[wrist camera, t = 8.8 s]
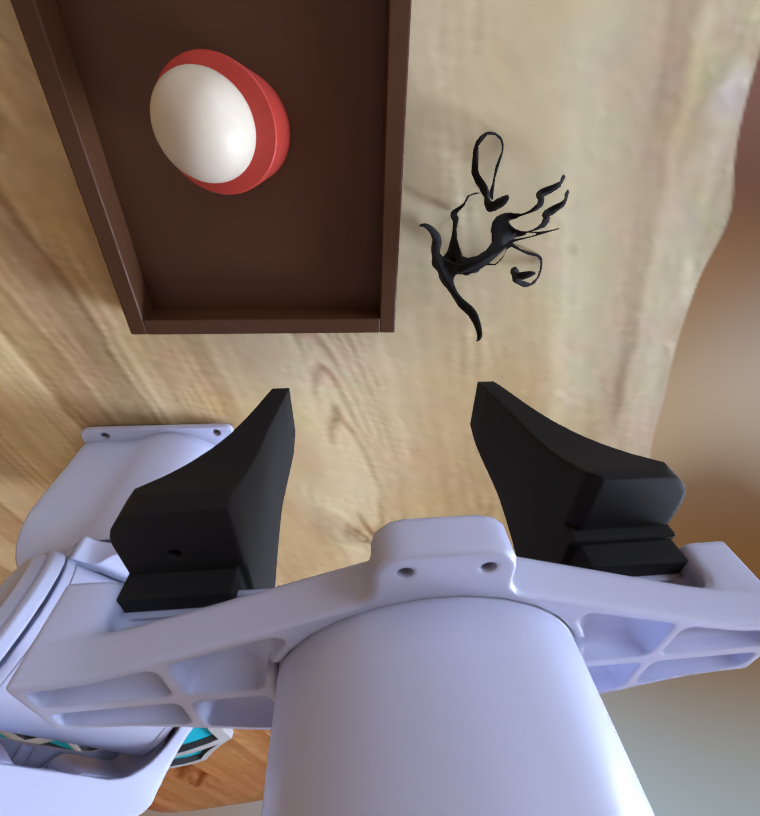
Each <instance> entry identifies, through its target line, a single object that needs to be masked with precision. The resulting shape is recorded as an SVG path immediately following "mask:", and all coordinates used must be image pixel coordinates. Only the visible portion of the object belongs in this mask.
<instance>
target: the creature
mask: <svg viewBox="0 0 760 816" xmlns="http://www.w3.org/2000/svg"><path fill="white" fill-rule="evenodd" d="M487 135H496V136H497V137H498V138H499V139H500V140H501V144H502V152H501V154H500V157H499V159H498V162H497V164H496V167H495V173H494V178H493V183H492V186H491V189H490V192H489V189H488V187H487V185H486V183H485V182H484V180H483V179H482V178H481V176H480V174H479V170H478V146H479V145H480V143H481V142H482V141H483V140H484V138H485V137H486V136H487ZM503 146H504V144H503V140H502V138H501V136H499V135H498V134H496V133H494V132H486V133H484V134H482V135H481V136H480V137H479V138H478V140H477V141H476V143H475V146H474V149H473V159H472V172H471V173H472V176H473V178H474V180H475V183H476V184H477V186H478V187H479V189H480V191H481V193H482V195H483V196H484V205H485V207H486V210H487V211H488V212H492V211H496V210H497V209H499V208H501V207H503V206H504V205H505V204H506V203H507V201H508V199H509V196H508V195H505V196H502V197H500V198H498V199H496V200H495V201H493V202H492V201H490V198H491V199H492V200H493V192H494V183H495V177H496V173H497V170H498V167H499V163H500V160H501V157H502V153H503ZM564 179H565V175H563V176H562V177H561V180H560V182H557V183H555V184H553V185H550V186H547V187H545V188H543V189H541V190H539V191H538V192H537V193H536V197H537V199H538V203H537V204H536V205H535V206H534V207H533V208H532V209H531V210H530V211H528V212H525V213H523V214H518V213H504V214H501V215H499V216H497V217H496V218H495V219H494V221H493V222H492V227H491V233H492V243H491V244H490V246H489V247H488V248H487V250H486V251H484V252H483V253H481V254H480V255H478V256H475V257H470V258H466V257H463V256H462V253H461V250H460V247H459V244H458V240H457V231H456V228H457V224H458V219H459V218H458V216H457V213H458V211H459V210H460V209H461V208H462V207H463V206H464V205H465V203H466V201H467V199H468V198H469V196H470V195H468V196H467V198H466V200H465V202H464V203H463V204H462V205H461V206H459V207H457V208H456V209H454V210H453V211H452V212H451V218H452V220H453V231H452V236H451V240H450V244H449V248H448V251H447V253H446V254H445V255H444V256H442V255H441V254H440V248H441V243H442V240H441V236H440V234H439V233H438V232H437V230H436V229H435V228H434V227H432V226H431V225H429V224H426V223H425V224H421V225H419V226H422V227H424V228H426V229H427V230H428V232H429V233H430V235H431V237H432V246H431V252H432V265H433V267H434V268H435V269H436V270H437V271H438V274H439V278H440V280H441V282H442V284H443V285H444V286H445V287H446V288H447V289H448V291H449V292H450V293H451V295H452V297H453V298H454V300H455V302H456V303H457V305H458V306H459V307H460V308H461V309H462V310H463V311H464V312H465V313H466V314H467V315H468V316H469V317H470V319H471V321H472V322H473V324H474V326H475V329H476V332H477V340H476V341H479V340H481V338H482V328H481V324H480V320H479V317H478V314H477V312H476V311H475V309H474V308H473V307H472V306H471V305H470V304H469V303H467V302H466V301H465V300H464V299H463V298H462V297H461V296H460V295H459V293H458V292H457V290H456V288H455V285H454V281H453V280H454V277H455V275H457V274H463V275H469V274H471V273H477V272H478V271H479V270H480V269H481V268H483V267H484V266H486V265H496V264H497V263H498V262H499V261H500V260H501V259H502V258H503V257H502V258H501V259H500V260H499V261H498V262H497V263H496V264H489V263H490V262H491V261H492V260H493V259H494V258H496V257H497V256H498V255H499V254H500V253H501V252H502V251H503V250H504V249H505V248H506V247H507V248H506V250H507V249H508V248H510V247H513V248H515V249H517V250H519V251H521V252H523V253H525V254H528V255H532V256H536V257H538V258H539V260H540V271H539V274H538V276H537V278H536V279H535V280H534V281H533V282H532V283H531V284H530V283H528V282H525V281H522V280H523V279H526V278H529V277H531V276H533V275H534V274H536V273H535V272H532V271H526V272H519V270H518V269H517V267H513V268H512V269H511V275H512V279H513V282H514V283H516V284H518V285H520V286H522V287H528V286H531V285H533V284H534V283H535V282H536V281H537V279H538V278H539V276H540V273H541V269H542V258H541V256H540V255H538V254H535V253H531V252H528V251H525V250H522V249H520V248H518V247H517V246H515V245H514V244H513V242H515V241H518V240H522V239H526V238H530V237H533V236H537V235H540V234H544V233H547V232H550V231H554V230H557V229H554V230H549V231H542V232H532V231H535V230H538V229H541V228H544V227H545V226H546V225H547V224H548V223H549V220H550V216H551V215H553V214H554V213H555V212H557V211H558V210H559V209H561V208H562V207H563V206H564V205H565V204H566V201H567V198H568V194H569V190H567V191H566V193H565V198H564V200H563V201H562V202H560V203H558V204H556V205H554V206H552V207H550V208H548V209H546V210H545V211H544V212H543V214H542V216H543V220H542V223H541V224H540V225H539V226H538V227H537V228H535V229H533V230H531V231H527V232H526V231H519V230H516V229H515V228H513V227H512V226H511V225H510V223H509V221H510V220H512V219H516V218H518V217H520V216H522V215H525V214H528V213H531V212H534V211H537V210H538V209H539V208H540V207H542V206H543V204H544V196H546V195H548V194H550V193H552V192H553V191H555V190H557V189H558V188H559V187H561V184H562V183H563V181H564ZM474 194H478V193H473V194H471V195H474ZM558 229H559V228H558ZM526 233H536V235H533V236H529V237H525V238H519V239H514V238H516V237H519V236H523V235H525V234H526ZM506 250H505V252H506ZM504 254H505V253H504ZM503 256H504V255H503ZM520 279H521V280H520Z"/></svg>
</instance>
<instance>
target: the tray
mask: <svg viewBox="0 0 760 816" xmlns="http://www.w3.org/2000/svg"><path fill="white" fill-rule="evenodd" d="M11 3H12V6H13V8H14V11H15V14H16V17H17V19H18V22H19V25H20V28H21V30H22V33H23V36H24V39H25V42H26V44H27V47H28V50H29V53H30V55H31V58H32V61H33V64H34V66H35V69H36V72H37V75H38V77H39V80H40V83H41V86H42V88H43V91H44V94H45V97H46V99H47V102H48V105H49V108H50V110H51V113H52V116H53V119H54V121H55V124H56V127H57V130H58V132H59V135H60V138H61V141H62V144H63V146H64V149H65V152H66V155H67V157H68V160H69V163H70V166H71V168H72V171H73V174H74V177H75V179H76V182H77V185H78V188H79V190H80V193H81V196H82V199H83V201H84V204H85V207H86V210H87V212H88V215H89V218H90V221H91V223H92V226H93V229H94V232H95V234H96V237H97V240H98V243H99V246H100V248H101V251H102V254H103V257H104V259H105V262H106V265H107V268H108V270H109V273H110V276H111V279H112V281H113V284H114V287H115V290H116V292H117V295H118V298H119V301H120V303H121V306H122V309H123V312H124V314H125V317H126V320H127V323H128V325H129V328H130V331H131V333H132V334H250V333H363V332H394V331H395V313H396V293H397V273H398V254H399V234H400V215H401V195H402V175H403V156H404V136H405V117H406V97H407V77H408V58H409V38H410V19H411V0H11ZM194 49H207V50H213V51H217V52H220V53H223V54H225V55H227V56H229V57H231V58H232V59H234V60H236V61H237V62H239V63H240V64H242V65H243V66H245V67H246V68H248V69H250V70H251V71H253V72H254V73H256V74H257V75H259V76H260V77H262V78H263V79H264V80H265V81H266V82H267V83H268V84H269V85H270V86H271V87H272V88H273V89H274V90H275V92H276V93H277V95H278V96H279V98H280V99H281V101H282V103H283V105H284V107H285V110H286V113H287V116H288V120H289V126H290V145H289V150H288V154H287V157H286V159H285V161H284V163H283V164H282V166H281V167H280V169H279V170H278V171H277V172H276V173H275V174H273V175H272V176H271V177H269V178H268V179H266V180H265V181H263V182H262V183H260V184H259V185H257V186H255V187H254V188H252V189H250V190H248V191H246V192H243V193H239V194H230V195H228V194H219V193H215V192H212V191H209V190H206V189H204V188H202V187H200V186H198V185H197V184H195V183H194V182H192V181H191V180H190V179H188V178H187V177H186V176H185V175H184V174H183V173H182V172H181V171H180V170H179V169H178V168H177V167H176V166H175V165H174V164H173V163H172V162H171V161H170V160H169V158H168V157H167V156H166V155H165V153H164V152H163V150H162V149H161V147H160V145H159V143H158V142H157V139H156V137H155V134H154V131H153V128H152V124H151V119H150V102H151V96H152V93H153V89H154V87H155V85H156V83H157V80H158V78H159V75H160V73H161V71H162V70H163V69H164V67H165V66H166V65H167V64H168V63H169V62H170V61H171V60H172V59H173V58H174V57H176V56H177V55H179V54H181V53H183V52H186V51H189V50H194Z"/></svg>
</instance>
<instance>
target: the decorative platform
mask: <svg viewBox="0 0 760 816" xmlns="http://www.w3.org/2000/svg"><path fill="white" fill-rule="evenodd" d="M232 735H233V729H227V728H193V729H192V730H191V732H190V733H189V734H188V736H187V737H186V739H185V740H184V742H183V743H182V745H181V747H180V748H179V750H178V752H177V754H176V755H175V757H174V759H173V761H172V763H171V765H170V767H169V768H175V767H181V766H185V765H189V764H193V763H197V762H200V761H204V760H206V759H207V758H208V757H209V756H210V754H211V753H212V752H213V751H214V750H215V749H217V748H218V747H219V746H221V745H222V744H223V743H225V742H226V741H228V740H229V739H231V738H232ZM0 737H1V738H6V739H12V740H18V741H23V742H29V743H35V744H40V745H46V746H52V747H57V748H63V749H69V750H74V751H94V750H97V749H98V748H92V747H87V746H81V745H76V744H70V743H65V742H60V741H54V740H49V739H43V738H38V737H32V736H27V735H22V734H16V733H11V732H5V731H0Z"/></svg>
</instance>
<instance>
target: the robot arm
mask: <svg viewBox="0 0 760 816" xmlns="http://www.w3.org/2000/svg"><path fill="white" fill-rule="evenodd" d="M470 425H471V429H472V433H473V437H474V440H475V443H476V446H477V449H478V451H479V453H480V456H481V458H482V460H483V462H484V465H485V467H486V469H487V471H488V473H489V476H490V478H491V480H492V482H493V484H494V487H495V489H496V491H497V494H498V496H499V499H500V502H501V505H502V508H503V511H504V514H505V517H506V521H507V524H508V527H509V531H510V534H511V538H512V541H513V545H514V549H515V553H516V556H515V554H514V551H513V549H512V546H511V544H510V541H509V539H508V537H507V534H506V532H505V529H504V527H503V524H501V523H500V522H499V521H497V520H496V519H495V518H493V517H488V516H480V515H466V516H449V517H432V518H414V519H402V520H398V521H394V522H389V523H388V524H386V525H385V526H383V527H382V528H381V529H379V530H378V531H376V532H375V534H374V537H373V539H372V542H371V556H370V560H369V561H366V562H362V563H359V564H355V565H352V566H348V567H345V568H341V569H338V570H334V571H331V572H327V573H324V574H320V575H316V576H313V577H309V578H306V579H302V580H299V581H295V582H292V583H288V584H285V585H281V586H278V587H275V579H276V565H277V553H278V542H279V531H280V521H281V511H282V505H283V500H284V495H285V491H286V486H287V482H288V477H289V473H290V468H291V463H292V459H293V454H294V442H295V426H294V419H293V412H292V405H291V398H290V391H289V388H280V389H272V390H271V391H270V392H269V393H268V394H267V395H266V397H265V398H264V399H263V400H262V401H261V402H260V404H259V405H258V406H257V407H256V408H255V409H254V410H253V412H252V413H251V414H250V415H249V416H248V417H247V418H246V419H245V420H244V421H243V422H242V423H241V424H240V425H239V426H238V427H237V428H236V429H235V430H233V427H232V426H231V425H229V424H225V423H219V424H181V425H144V426H106V427H86V428H84V429H83V430H82V432H81V437H82V439H83V441H84V443H85V444H84V445H83V447H82V448H81V449H80V450H79V451H78V453H77V454H76V455H75V456H74V458H73V459H72V460H71V461H70V462H69V464H68V465H67V466H66V467H65V469H64V470H63V471H62V472H61V473H60V475H59V476H58V477H57V478H56V480H55V481H54V482H53V483H52V484H51V486H50V487H49V488H48V489H47V491H46V492H45V493H44V494H43V495H42V497H41V498H40V499H39V500H38V502H37V503H36V504H35V505H34V506H33V508H32V509H31V511H30V512H29V514H28V515H27V517H26V519H25V521H24V523H23V526H22V528H21V531H20V534H19V537H18V541H17V546H16V565H17V569H16V570H15V571H14V572H13V573H12V574H11V575H10V576H9V577H8V578H7V579H6V580H5V581H4V582H3V584H2V585H1V586H0V731H5V732H11V733H16V734H22V735H27V736H32V737H38V738H43V739H49V740H54V741H60V742H65V743H70V744H76V745H81V746H87V747H92V748H98V749H97V750H94V751H74V750H69V749H63V748H57V747H52V746H46V745H40V744H35V743H29V742H23V741H18V740H12V739H6V738H1V737H0V816H139V815H140V814H142V813H143V812H144V811H145V810H146V809H147V808H148V807H149V806H150V805H151V804H152V802H153V800H154V797H155V795H156V793H157V790H158V788H159V787H160V785H161V783H162V781H163V779H164V777H165V774H166V772H167V770H168V769H169V767H170V765H171V763H172V761H173V759H174V757H175V755H176V754H177V752H178V750H179V748H180V747H181V745H182V743H183V742H184V740H185V739H186V737H187V736H188V734H189V733H190V732H191V730H192V729H193V728H227V729H260V730H271V736H270V744H269V753H268V762H267V770H266V779H265V787H264V796H263V805H262V813H261V816H655V815H654V813H653V811H652V809H651V807H650V804H649V802H648V800H647V798H646V796H645V793H644V791H643V789H642V787H641V785H640V782H639V780H638V778H637V776H636V774H635V772H634V769H633V767H632V765H631V763H630V761H629V759H628V756H627V754H626V752H625V750H624V748H623V745H622V743H621V741H620V739H619V737H618V734H617V732H616V730H615V728H614V726H613V724H612V721H611V719H610V717H609V715H608V713H607V710H606V708H605V706H604V704H603V702H602V699H601V697H600V695H599V694H602V693H606V692H611V691H615V690H620V689H625V688H629V687H634V686H639V685H643V684H648V683H652V682H657V681H662V680H666V679H672V678H677V677H682V676H687V675H693V674H700V673H706V672H713V671H721V670H729V669H739V668H745V667H747V666H748V665H749V664H751V663H752V662H753V661H754V660H755V659H757V658H758V657H759V656H760V581H759V580H758V579H757V577H756V576H755V575H754V574H753V573H752V572H751V571H750V570H749V569H748V568H747V567H746V566H745V564H743V562H742V561H741V560H740V559H739V558H738V557H737V556H736V555H735V554H734V553H733V552H732V550H731V549H730V548H729V547H728V546H727V545H726V544H725V543H724V542H707V543H691V544H686V545H684V546H682V547H680V548H679V549H678V548H677V546H676V545H675V544H674V543H673V541H672V540H671V539H673V538H674V536H675V534H674V532H673V531H672V529H671V528H670V527H669V526H668V525H667V524H668V523H669V521H670V520H671V518H672V517H673V515H674V514H675V512H676V511H677V509H678V508H679V506H680V505H681V502H682V501H683V499H684V496H685V486H684V484H683V482H682V481H681V479H680V478H679V477H678V476H677V475H676V474H675V473H674V472H673V471H672V470H671V469H670V468H669V467H668V466H667V465H666V464H665V463H664V462H661V461H657V460H653V459H649V458H645V457H641V456H638V455H634V454H630V453H627V452H624V451H621V450H618V449H615V448H612V447H609V446H606V445H603V444H601V443H598V442H596V441H593V440H591V439H589V438H586V437H584V436H581V435H579V434H577V433H575V432H573V431H571V430H569V429H567V428H565V427H563V426H561V425H559V424H557V423H555V422H554V421H552V420H550V419H549V418H547V417H545V416H544V415H542V414H540V413H539V412H537V411H536V410H534V409H533V408H531V407H530V406H528V405H527V404H525V403H524V402H522V401H521V400H520V399H518V398H517V397H515V396H514V395H513V394H511V393H510V392H508V391H507V390H506V389H504V388H503V387H501V386H500V385H498V384H497V383H495V382H478V384H477V389H476V395H475V401H474V406H473V412H472V417H471V423H470ZM215 430H219V431H220V432H216V431H215ZM105 433H107V434H108V435H106V434H105Z"/></svg>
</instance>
